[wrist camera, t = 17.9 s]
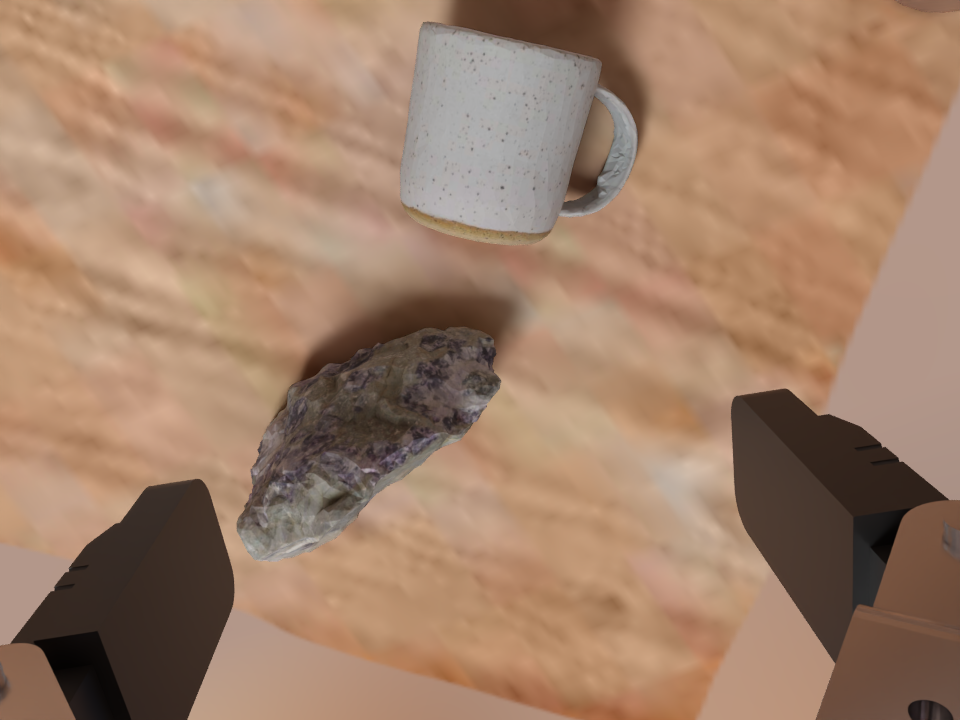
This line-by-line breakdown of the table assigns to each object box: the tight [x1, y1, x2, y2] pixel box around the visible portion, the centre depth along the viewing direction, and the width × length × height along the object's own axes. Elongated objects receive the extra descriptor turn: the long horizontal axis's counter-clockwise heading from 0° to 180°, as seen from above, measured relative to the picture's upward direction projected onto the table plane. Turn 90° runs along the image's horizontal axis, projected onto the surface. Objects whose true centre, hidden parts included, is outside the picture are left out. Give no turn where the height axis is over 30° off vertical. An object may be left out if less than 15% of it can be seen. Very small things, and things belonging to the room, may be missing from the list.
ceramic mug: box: [400, 22, 638, 245], centre depth 34 cm, size 11×8×8 cm
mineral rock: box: [237, 327, 501, 561], centre depth 37 cm, size 13×11×10 cm
